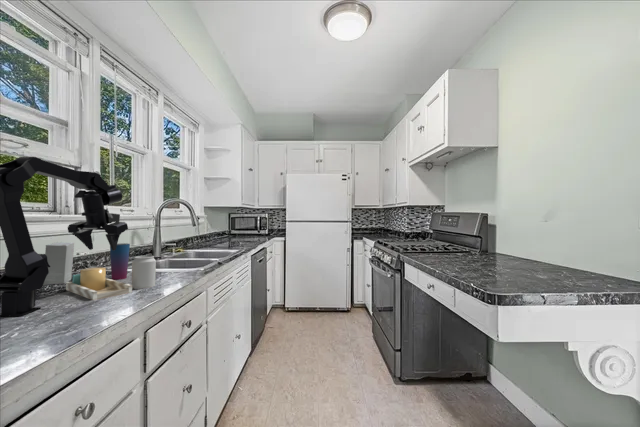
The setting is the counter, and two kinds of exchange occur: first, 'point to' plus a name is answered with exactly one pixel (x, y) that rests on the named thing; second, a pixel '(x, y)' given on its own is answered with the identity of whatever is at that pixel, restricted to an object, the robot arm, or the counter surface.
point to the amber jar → (93, 278)
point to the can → (143, 272)
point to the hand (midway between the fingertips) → (102, 249)
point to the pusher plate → (76, 279)
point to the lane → (110, 290)
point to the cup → (119, 261)
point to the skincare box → (59, 262)
